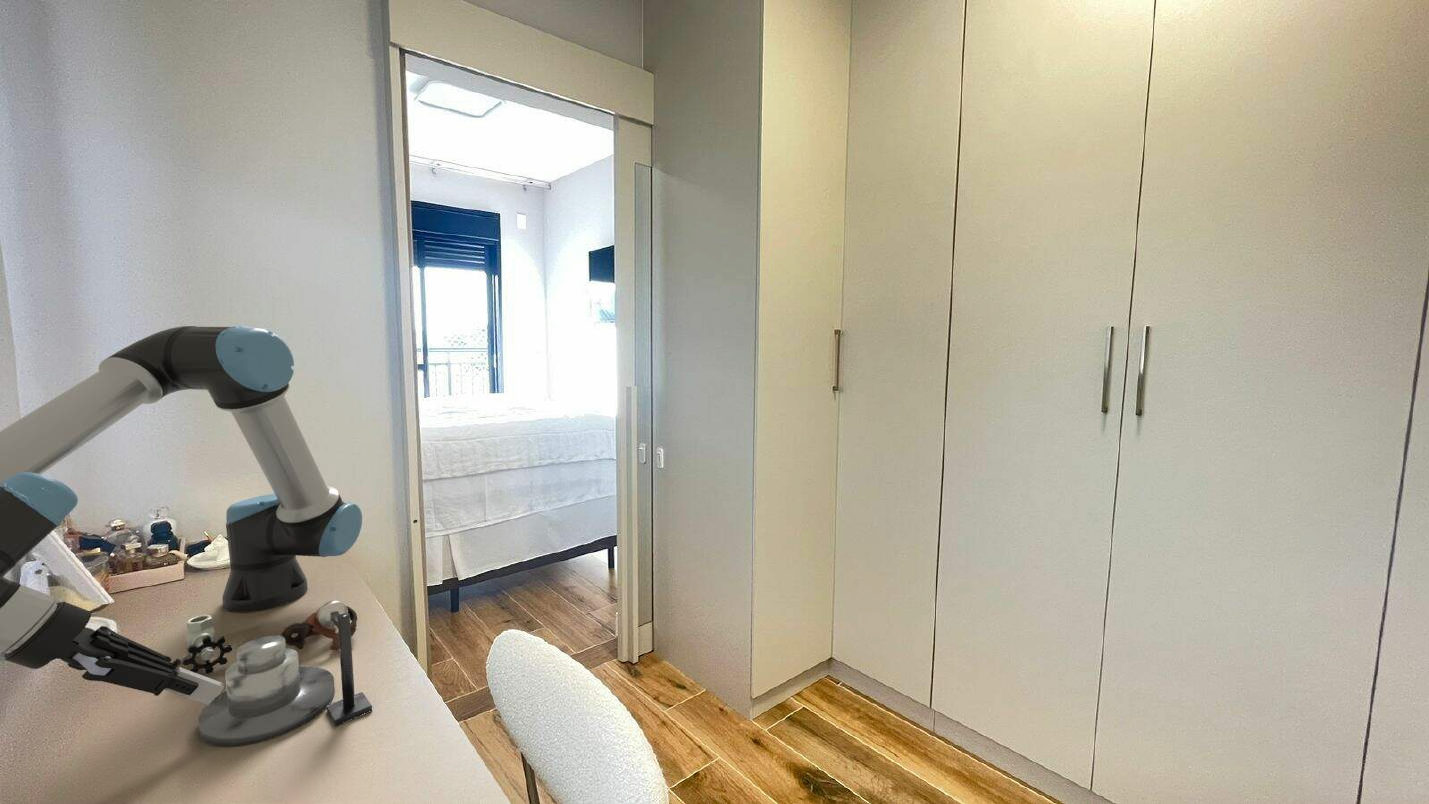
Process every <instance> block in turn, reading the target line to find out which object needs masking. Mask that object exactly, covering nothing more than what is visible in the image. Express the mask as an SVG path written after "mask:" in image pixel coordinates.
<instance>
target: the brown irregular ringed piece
mask: <svg viewBox="0 0 1429 804" xmlns="http://www.w3.org/2000/svg"><path fill="white" fill-rule="evenodd" d="M346 606H347V608H348V613H349V614H350V629H351V638H352V637H353V636H354V635H355V634H356V631H357V621H358V615H357V613H356V611H355V610H354V609H353V608H352V607H350V606H348V605H346ZM320 608H321V607H319V608H318V609H317V610H316V611H315V612H313V613H312V614H310V615H309V616H308V617H306V619H305V620H304V621H302V622H295V623H292V624H289V625H288V626H286V627H285V628H284V630H283V631H282V632H281V634H280V636H282V637H284V638H285V644H286V646H287V645H288V646H291V647H295V649H298V650H303V649H304V644H305V640H306V639H307V638H309V637H313V636H319V635H320V636H324V637H325V638H328V639H331V640H332V643H331V645H330V647H329V650H330V651H334V652H335V650H336V651H338V649H339V634H338V632H336V631H337V627H336V626H335V627H325V626H323V625H322V624H321V623H320V622H319V620H318V612H319V610H320ZM296 634H297V635H296ZM293 635H296V636H293Z"/></svg>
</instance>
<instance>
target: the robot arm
mask: <svg viewBox="0 0 1429 804" xmlns="http://www.w3.org/2000/svg"><path fill="white" fill-rule="evenodd" d="M294 364H295V363H294V356H293V354H292V351H291V349H290V348H289V346H288V345H287V343H286V342H285V341H284V340H283V338H281V337H280V336H279V335H277V334H276V333H274V332H272V331H270V330H267V329H265V328H261V327H260V328H259V327H251V326H246V325H235V326H196V325H193V326H192V325H191V326H189V325H188V326H187V325H182V326H176V327H170V328H167V329H163V330H159V331H158V332H155V333H153V334H151V335H148V336H146V337H144V338H142V339H139V340H137V341H135V342H134V343H131V344H129V345H128V346H125V347H124V348H122V349H120V350H118V351H117V352H115V353H114V354H111V355H110V356H108V357H106V358H105V359H103V360H102V361H101V362H100V363H99V365H98V371H96V372H95V373H94V374H91V376H89V377H87V378H85V379H83V380H82V381H80V382H79V383H77V384H75V385H73V386H72V387H71V388H69V389H67V390H66V391H64V392H62V393H61V394H59V395H57V396H55V397H54V398H52V399H51V400H49V401H48V402H45V403H44V404H43V405H41V406H39V407H38V408H36V409H34V410H33V411H31V412H29V413H28V414H26V415H25V416H23V417H21V418H20V419H18V420H16V421H15V422H13V423H11V424H9V425H8V426H6V427H5V428H3V429H2V430H0V655H2V654H4V656H3V658H4V660H5V661H7V662H11V663H13V664H16V665H19V666H23V667H26V668H28V669H32V670H37V669H38V670H39V669H42V668H43V667H45V666H47V665H48V664H49V663H50V662H52V661H54V660H61V661H63V662H65V663H67V666H68V667H70V668H72V669H74V670H77V671H85V672H84V673H83V674H82V675H81V678H83V680H86V681H91V682H92V681H94V682H95V681H96V682H104V683H106V684H107V683H108V684H111V685H112V684H113V685H117V686H120V687H125V688H128V689H133V690H137V691H141V692H145V693H150V694H153V695H154V696H157V697H158V696H159V695H161V694H162V692H163V691H166V692H170V693H172V694H175V695H178V696H181V697H184V698H187V699H191V700H193V701H196V702H199V703H202V704H205V705H209V704H210V703H211V702H212V701H213V700H214V698H216V697H217V696H219V695H220V694H221V693H222V691H223V689H225V684H224V683H223V682H221V681H218V680H215V679H214V678H210V677H207V676H205V675H202V674H200V673H198V672H197V673H194V672H192V671H189V670H188V669H186V668H183V667H180V664H181V663H182V660H181V659H180V658H178V657H177V658H176V659H175V660H174V661H173V662H171V661H172V658H171V656H167V655H165V654H162V653H160V652H159V651H156V650H153V649H151V648H149V647H147V646H145V645H143V644H140V643H138V642H136V641H134V640H132V639H129V638H128V637H125V636H123V635H121V634H119V633H117V632H115V631H114V630H112V629H111V628H109V627H108V626H106V625H105V626H104V625H101V626H100V627H98V628H97V629H96V630H94V629H92V628H90V627H86V626H87V625H88V624H89V622H90V620H91V617H92V616H91V615H92V613H91V612H90V611H89V610H88V609H85V608H81V607H79V606H78V605H74V604H72V603H69V602H66V601H58V602H56V597H55V596H52V595H49V594H47V593H44V592H41V591H39V590H37V589H35V588H34V589H33V588H31V587H28V586H26V585H23V584H21V583H19V582H16V581H12V580H10V579H8V578H6V577H5V576H6V575H7V574H8V573H9V572H10V571H11V570H12V569H14V567H15V566H16V565H17V564H18V563H19V562H20V561H21V560H23V558H25V556H27V555H28V554H29V553H30V552H31V551H32V550H33V549H34V548H35V547H36V546H37V545H39V543H41V542H42V541H43V540H45V538H46V537H48V536H49V535H50V534H51V533H52V532H53V531H54V530H55V529H57V527H58V528H59V527H60V526H61V525H62V524H61V523H62V522H63V520H64V519H65V518H66V517H67V516H68V515H69V514H70V513H71V512H72V511H73V510H74V509H75V508H76V506H77V505H78V502H79V499H78V495H77V494H76V492H75V491H74V490H73V489H71V488H70V487H69V486H68V485H66V484H65V483H63V482H62V481H60V480H58V479H56V478H53V477H51V476H48V475H45V474H43V473H45V472H47V471H48V470H50V469H51V468H52V467H54V466H55V465H56V464H59V462H61V461H62V460H64V459H65V458H67V457H69V456H70V455H71V454H72V453H74V452H75V451H77V450H78V449H80V448H81V447H82V446H84V445H86V444H87V443H88V442H90V441H91V440H92V439H94V438H95V437H97V436H98V435H100V434H101V433H103V432H104V431H105V430H107V429H108V428H110V427H111V426H113V425H114V424H115V423H118V421H120V420H121V419H122V418H124V417H126V416H127V415H129V414H130V413H131V412H132V411H134V410H136V409H137V408H139V407H140V406H141V405H145V404H146V405H149V404H155V403H157V402H159V401H160V400H161V399H162V398H164V397H166V396H168V395H170V394H172V393H176V392H180V391H187V390H198V391H199V390H201V391H202V390H203V391H204V390H205V391H207V392H208V393H209V395H210V397H211V398H212V399H211V400H213V403H214V404H215V406H216V407H217V408H218V409H219V410H222V411H226V412H230V413H231V414H232V416H233V418H234V420H235V422H236V424H237V426H238V428H239V429H240V431H241V434H242V435H243V436H244V438H245V440H246V443H247V444H248V446H249V448H250V450H251V453H253V456H254V458H255V459H256V462H257V463H258V465H259V467H260V468H261V470H262V472H263V475H264V476H265V477H266V480H267V482H268V483H269V486H270V487H271V489H272V491H273V493H271V494H270V493H269V494H264V495H259V496H256V497H255V496H254V497H251V498H247V499H244V500H241V501H236V502H235V503H233V504H231V505H229V506H228V508H227V509H226V512H225V513H226V516H225V517H226V518H225V519H226V521H225V522H226V523H225V528H226V537H227V545H228V546H227V547H228V548H227V549H228V554H229V555H228V556H229V566H230V573H229V576H228V577H227V578H228V579H227V581H226V585H225V587H224V591H223V594H222V607H223V609H224V610H225V611H228V612H230V613H231V612H232V613H252V612H258V611H264V610H269V609H272V608H273V609H274V608H276V607H280V606H282V605H285V604H289V603H291V602H294V601H295V600H297V599H299V598H301V597H302V596H304V595H305V594H306V593H307V591H308V589H309V588H308V587H309V586H308V578H307V577H306V575H305V573H304V571H303V569H302V567H301V565H300V563H299V561H298V559H297V556H298V557H299V556H302V557H320V558H326V557H327V558H328V557H338V556H341V555H344V554H345V553H347V552H348V551H350V550H351V548H352V547H353V546H354V545H355V543H356V542H357V539H358V537H359V536H360V533H361V529H362V525H363V514H362V510H361V508H360V507H359V506H358V505H357V504H355V503H352V502H344V501H343V499H342V497H341V494H340V493H339V490H338V489H336V487H334V486H330V485H327V484H326V482H325V479H324V478H323V476H322V473H321V472H320V470H319V467H318V465H317V463H316V461H315V459H314V457H313V454H312V453H311V452H312V451H311V450H310V448H309V446H308V443H307V442H306V440H305V439H306V438H304V435H303V433H302V431H301V429H300V427H299V425H298V423H297V419H296V418H295V417H294V414H293V412H292V409H291V407H290V405H289V404H288V400H287V399H286V397H285V395H286V394H287V392H288V391H289V389H290V384H289V383H290V381H291V379H292V378H293V375H294V372H295V371H294V369H293V368H292V367H294V366H295V365H294ZM55 602H56V603H55Z"/></svg>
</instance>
